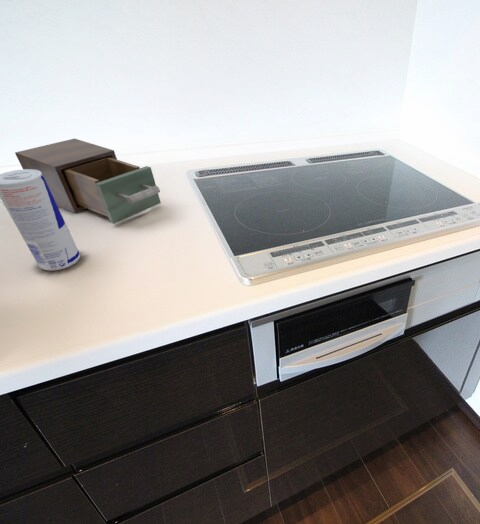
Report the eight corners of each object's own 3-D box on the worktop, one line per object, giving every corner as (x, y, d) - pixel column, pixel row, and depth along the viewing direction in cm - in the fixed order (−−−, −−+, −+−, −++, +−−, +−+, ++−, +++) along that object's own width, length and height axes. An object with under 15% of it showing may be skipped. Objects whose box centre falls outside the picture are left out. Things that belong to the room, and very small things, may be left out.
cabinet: (128, 192, 81) (114, 150, 75) (75, 213, 72) (54, 166, 67) (90, 179, 86) (74, 138, 80) (36, 196, 77) (14, 152, 72)
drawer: (175, 208, 74) (165, 171, 70) (128, 229, 67) (114, 190, 62) (122, 189, 80) (110, 154, 76) (73, 207, 73) (57, 169, 68)
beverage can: (88, 259, 60) (49, 173, 51) (51, 276, 56) (2, 186, 47) (69, 249, 62) (29, 165, 54) (33, 265, 58) (-18, 176, 50)
